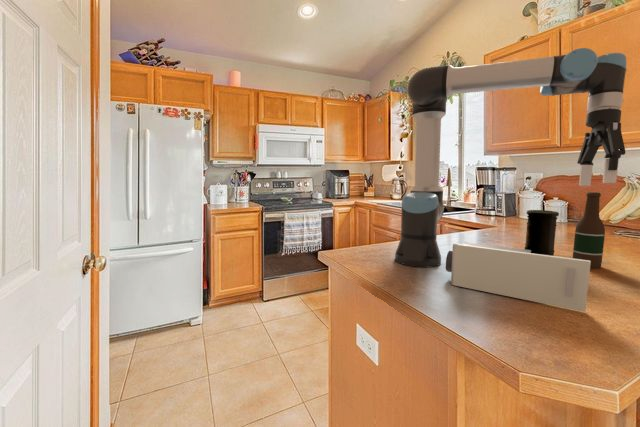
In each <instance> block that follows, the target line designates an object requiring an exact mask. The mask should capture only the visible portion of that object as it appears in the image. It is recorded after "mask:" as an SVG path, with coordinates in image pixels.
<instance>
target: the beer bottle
mask: <svg viewBox="0 0 640 427" xmlns="http://www.w3.org/2000/svg"><path fill="white" fill-rule="evenodd" d="M600 197H602V194H601V193H600V192H598V191H597V192H596V191H595V192H591V191H588V192H587V193H586V202H585V207H584V213H583V216H582V217H581V218H580V219H579V220H578V222H577V223H576V226H575V230H574V239H573V240H574V241H573V250H572V258H573V259H581V260H589V261H591V264H590V270H591V269H592V270H593V269H594V270H595V269H598V270H599V269H601V268H602V263H603V262H602V261H603V253H604V244H605V238H606V237H605V235H606V228H605V225H604V222H603V221H602V219H601V218H600V200H601V199H600Z"/></svg>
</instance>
